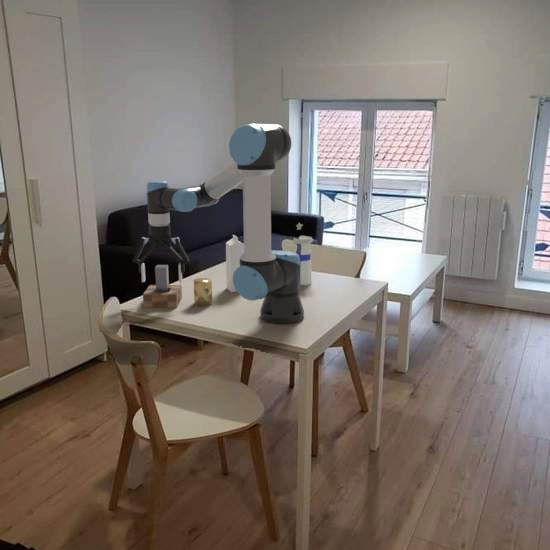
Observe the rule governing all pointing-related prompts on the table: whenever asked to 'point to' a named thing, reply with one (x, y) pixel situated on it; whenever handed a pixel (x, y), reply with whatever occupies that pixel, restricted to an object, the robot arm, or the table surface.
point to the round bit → (202, 292)
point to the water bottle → (304, 257)
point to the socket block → (162, 297)
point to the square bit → (162, 278)
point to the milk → (233, 260)
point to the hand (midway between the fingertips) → (162, 281)
